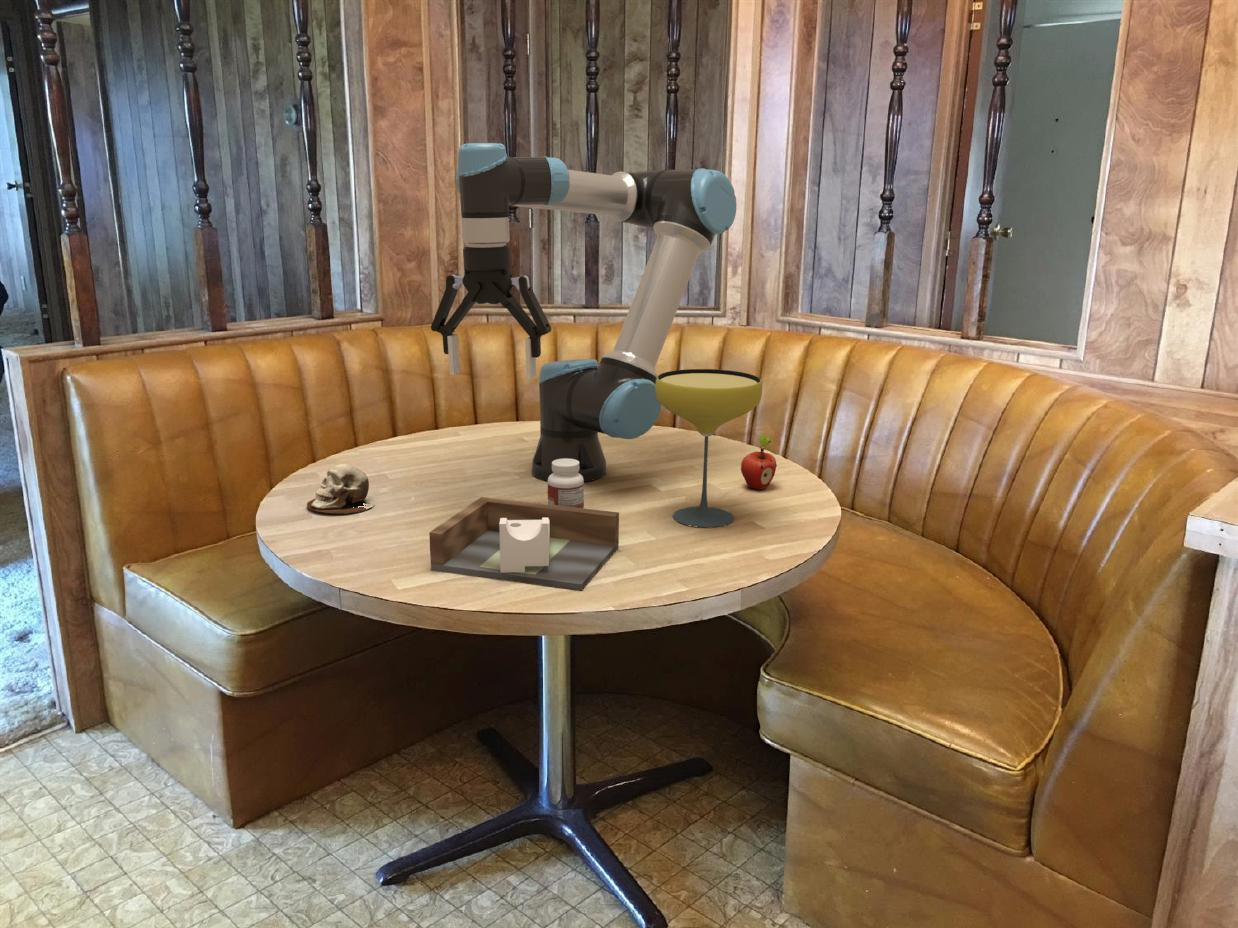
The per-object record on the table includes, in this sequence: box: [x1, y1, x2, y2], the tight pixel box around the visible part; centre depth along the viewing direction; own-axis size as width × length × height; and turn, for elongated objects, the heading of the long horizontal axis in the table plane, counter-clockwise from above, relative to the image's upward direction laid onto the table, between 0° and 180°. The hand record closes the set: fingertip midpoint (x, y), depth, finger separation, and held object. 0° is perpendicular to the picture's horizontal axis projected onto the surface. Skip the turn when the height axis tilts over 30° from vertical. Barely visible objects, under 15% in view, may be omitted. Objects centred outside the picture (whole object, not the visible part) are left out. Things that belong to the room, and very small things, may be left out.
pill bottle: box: [547, 458, 585, 509], centre depth 159 cm, size 6×6×11 cm
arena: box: [428, 496, 620, 592], centre depth 144 cm, size 18×24×6 cm
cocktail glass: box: [655, 368, 763, 528], centre depth 161 cm, size 18×18×25 cm
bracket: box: [499, 518, 550, 573], centre depth 142 cm, size 13×7×8 cm, turn 4°
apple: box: [740, 434, 778, 490], centre depth 181 cm, size 8×7×10 cm
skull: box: [306, 463, 370, 515], centre depth 168 cm, size 12×10×10 cm
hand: (493, 375), depth 155 cm, fingers open, 13 cm apart
